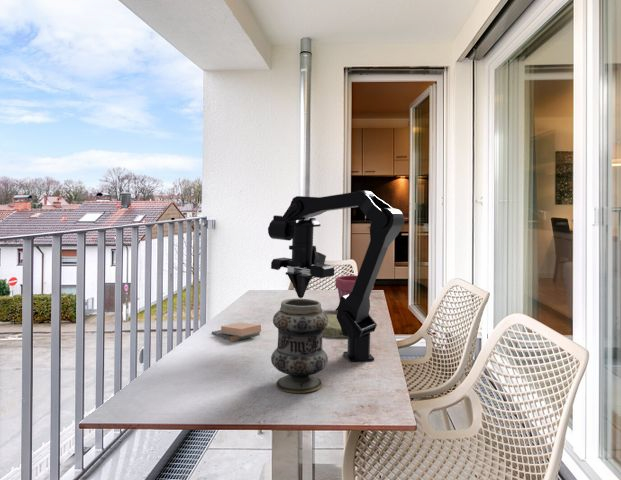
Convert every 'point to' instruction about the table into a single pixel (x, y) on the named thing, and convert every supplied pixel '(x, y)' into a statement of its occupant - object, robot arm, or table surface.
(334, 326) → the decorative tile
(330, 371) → the table surface
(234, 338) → the stop strip
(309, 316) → the apothecary jar
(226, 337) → the mat
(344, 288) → the plant pot
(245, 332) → the tile
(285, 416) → the table surface
